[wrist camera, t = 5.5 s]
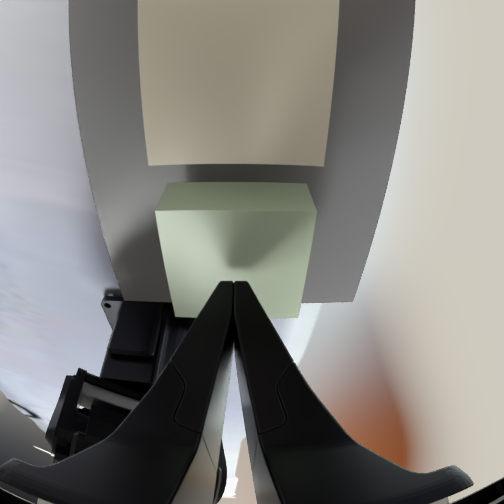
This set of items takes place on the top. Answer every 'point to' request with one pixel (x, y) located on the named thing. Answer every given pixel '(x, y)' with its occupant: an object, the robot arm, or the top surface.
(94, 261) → the top surface
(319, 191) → the gray rectangular slab
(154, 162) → the cream cube
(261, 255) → the pale green cube
